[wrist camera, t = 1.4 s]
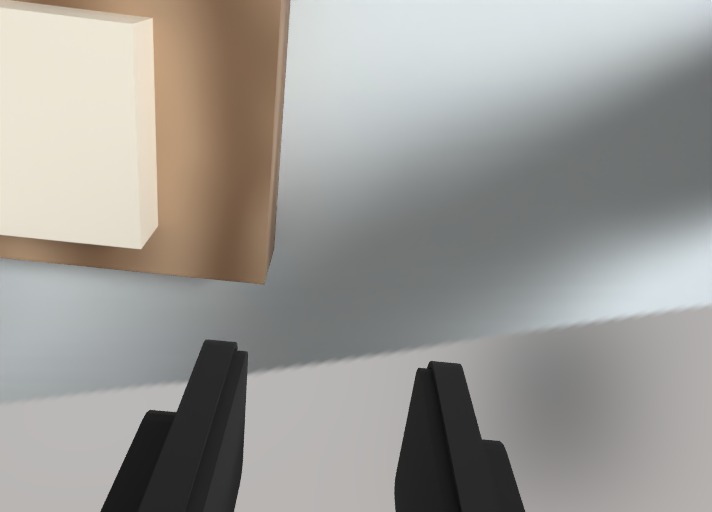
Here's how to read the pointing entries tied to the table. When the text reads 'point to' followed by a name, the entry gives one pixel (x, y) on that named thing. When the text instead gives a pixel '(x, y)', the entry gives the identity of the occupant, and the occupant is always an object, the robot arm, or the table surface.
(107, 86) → the cream rectangular block
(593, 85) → the table surface
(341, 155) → the table surface
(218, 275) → the brown flat block
